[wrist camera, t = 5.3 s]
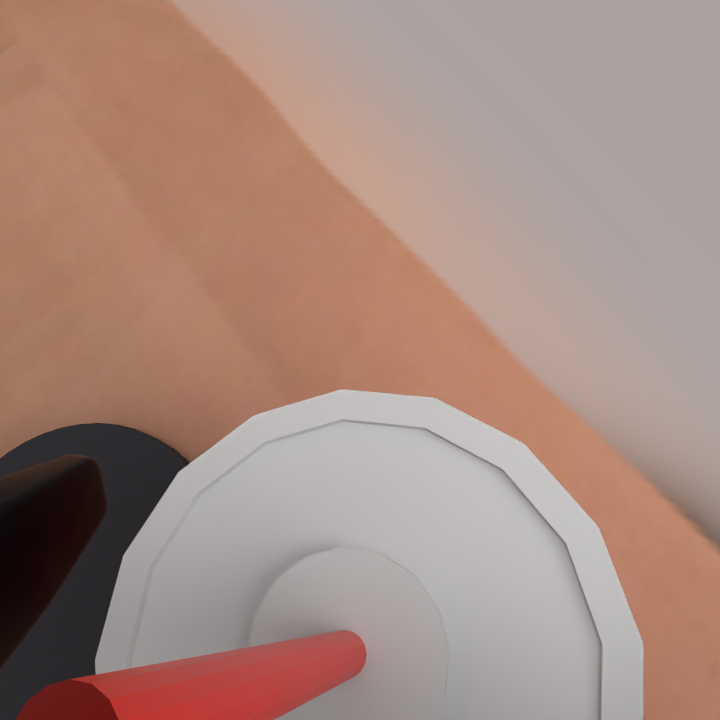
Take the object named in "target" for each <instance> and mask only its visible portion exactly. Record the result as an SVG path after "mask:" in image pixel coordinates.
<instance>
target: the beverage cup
mask: <svg viewBox="0 0 720 720" xmlns="http://www.w3.org/2000/svg"><path fill="white" fill-rule="evenodd" d="M95 671H96V675H91V676H85V677H79V678H74V679H69V680H65V681H61V682H58V683H54V684H50V685H47V686H46V687H45V688H43V689H42V690H41V691H40V692H38V693H37V694H36V695H34V696H33V697H32V698H30V699H29V700H28V701H27V702H26V704H25V705H24V707H23V708H22V710H21V711H20V713H19V714H18V716H17V717H16V719H15V720H643V642H642V639H641V636H640V634H639V631H638V629H637V626H636V623H635V621H634V618H633V615H632V613H631V610H630V608H629V605H628V602H627V600H626V597H625V595H624V592H623V589H622V587H621V584H620V582H619V579H618V576H617V574H616V571H615V568H614V566H613V563H612V561H611V558H610V555H609V553H608V550H607V548H606V545H605V542H604V540H603V537H602V535H601V532H600V529H599V527H598V526H597V525H596V524H595V522H594V521H593V520H592V519H591V518H590V517H589V516H588V515H587V513H586V512H585V511H584V510H583V509H582V508H581V507H580V506H579V504H578V503H577V502H576V501H575V500H574V499H573V498H572V497H571V496H570V494H569V493H568V492H567V491H566V490H565V489H564V488H563V487H562V485H561V484H560V483H559V482H558V481H557V480H556V479H555V478H554V476H553V475H552V474H551V473H550V472H549V471H548V470H547V469H546V467H545V466H544V465H543V464H542V463H541V462H540V461H539V460H538V458H537V457H536V456H535V455H534V454H533V453H532V452H531V451H530V449H529V448H528V447H527V446H526V445H525V444H524V443H522V442H520V441H518V440H516V439H514V438H512V437H510V436H509V435H507V434H505V433H503V432H501V431H499V430H497V429H495V428H493V427H491V426H489V425H487V424H485V423H483V422H481V421H479V420H477V419H475V418H473V417H471V416H469V415H467V414H465V413H463V412H461V411H460V410H458V409H456V408H454V407H452V406H450V405H448V404H446V403H444V402H442V401H440V400H438V399H436V398H431V397H421V396H410V395H399V394H388V393H377V392H366V391H355V390H344V389H341V390H337V391H334V392H331V393H327V394H324V395H320V396H317V397H314V398H310V399H307V400H303V401H300V402H297V403H293V404H290V405H287V406H283V407H280V408H276V409H273V410H270V411H266V412H263V413H259V414H256V415H253V416H252V417H251V418H249V419H248V420H247V421H245V422H244V423H243V424H241V425H240V426H239V427H238V428H236V429H235V430H234V431H232V432H231V433H230V434H228V435H227V436H226V437H224V438H223V439H222V440H220V441H219V442H218V443H216V444H215V445H214V446H212V447H211V448H210V449H208V450H207V451H206V452H204V453H203V454H202V455H200V456H199V457H198V458H196V459H195V460H194V461H193V462H191V463H190V464H189V465H187V466H186V467H185V468H183V469H182V470H181V471H179V472H178V474H177V475H176V477H175V478H174V480H173V481H172V483H171V484H170V486H169V487H168V489H167V490H166V492H165V493H164V495H163V496H162V498H161V499H160V501H159V503H158V504H157V506H156V507H155V509H154V510H153V512H152V513H151V515H150V516H149V518H148V519H147V521H146V522H145V524H144V525H143V527H142V528H141V530H140V531H139V533H138V534H137V536H136V537H135V539H134V540H133V542H132V543H131V545H130V546H129V548H128V549H127V551H126V552H125V554H124V555H123V559H122V562H121V566H120V570H119V573H118V577H117V581H116V584H115V588H114V592H113V596H112V599H111V603H110V607H109V610H108V614H107V618H106V621H105V625H104V629H103V632H102V636H101V640H100V644H99V647H98V651H97V655H96V658H95Z"/></svg>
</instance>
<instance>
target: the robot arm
mask: <svg viewBox="0 0 720 720" xmlns="http://www.w3.org/2000/svg"><path fill="white" fill-rule="evenodd" d="M106 511H107V497H106V492H105V487H104V483H103V478H102V473H101V468H100V465H99V463H98V462H97V460H96V459H94V458H92V457H87V456H81V455H76V454H68V455H65V456H62V457H59V458H56V459H53V460H50V461H47V462H44V463H41V464H38V465H35V466H33V467H30V468H27V469H24V470H21V471H18V472H15V473H12V474H9V475H6V476H3V477H0V670H1V669H2V667H3V666H4V665H5V663H6V662H7V661H8V659H9V658H10V657H11V656H12V654H13V653H14V652H15V650H16V649H17V648H18V646H19V645H20V644H21V642H22V641H23V640H24V638H25V637H26V636H27V634H28V633H29V632H30V631H31V629H32V628H33V627H34V625H35V624H36V623H37V621H38V620H39V619H40V617H41V616H42V614H43V613H44V612H45V610H46V609H47V608H48V606H49V605H50V603H51V602H52V600H53V599H54V597H55V596H56V594H57V593H58V591H59V589H60V588H61V586H62V585H63V583H64V581H65V580H66V578H67V577H68V575H69V573H70V572H71V570H72V569H73V567H74V565H75V564H76V562H77V561H78V559H79V558H80V556H81V554H82V553H83V551H84V550H85V548H86V546H87V545H88V543H89V542H90V540H91V538H92V537H93V535H94V534H95V532H96V530H97V529H98V527H99V526H100V524H101V522H102V521H103V519H104V517H105V514H106Z"/></svg>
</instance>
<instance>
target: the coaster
mask: <svg viewBox="0 0 720 720" xmlns="http://www.w3.org/2000/svg"><path fill="white" fill-rule="evenodd" d="M68 454H76V455H81V456H87V457H92V458H94V459H96V460H97V462H98V463H99V465H100V468H101V473H102V478H103V483H104V487H105V492H106V497H107V511H106V514H105V517H104V519H103V521H102V522H101V524H100V526H99V527H98V529H97V530H96V532H95V534H94V535H93V537H92V538H91V540H90V542H89V543H88V545H87V546H86V548H85V550H84V551H83V553H82V554H81V556H80V558H79V559H78V561H77V562H76V564H75V565H74V567H73V569H72V570H71V572H70V573H69V575H68V577H67V578H66V580H65V581H64V583H63V585H62V586H61V588H60V589H59V591H58V593H57V594H56V596H55V597H54V599H53V600H52V602H51V603H50V605H49V606H48V608H47V609H46V610H45V612H44V613H43V614H42V616H41V617H40V619H39V620H38V621H37V623H36V624H35V625H34V627H33V628H32V629H31V631H30V632H29V633H28V634H27V636H26V637H25V638H24V640H23V641H22V642H21V644H20V645H19V646H18V648H17V649H16V650H15V652H14V653H13V654H12V656H11V657H10V658H9V659H8V661H7V662H6V663H5V665H4V666H3V667H2V669H1V670H0V720H15V719H16V717H17V716H18V714H19V713H20V711H21V710H22V708H23V707H24V705H25V704H26V702H27V701H28V700H29V699H30V698H32V697H33V696H34V695H36V694H37V693H38V692H40V691H41V690H42V689H43V688H45V687H46V686H47V685H50V684H54V683H58V682H61V681H65V680H69V679H74V678H79V677H85V676H91V675H96V671H95V658H96V655H97V651H98V647H99V644H100V640H101V636H102V632H103V629H104V625H105V621H106V618H107V614H108V610H109V607H110V603H111V599H112V596H113V592H114V588H115V584H116V581H117V577H118V573H119V570H120V566H121V562H122V559H123V555H124V554H125V552H126V551H127V549H128V548H129V546H130V545H131V543H132V542H133V540H134V539H135V537H136V536H137V534H138V533H139V531H140V530H141V528H142V527H143V525H144V524H145V522H146V521H147V519H148V518H149V516H150V515H151V513H152V512H153V510H154V509H155V507H156V506H157V504H158V503H159V501H160V499H161V498H162V496H163V495H164V493H165V492H166V490H167V489H168V487H169V486H170V484H171V483H172V481H173V480H174V478H175V477H176V475H177V474H178V472H179V471H181V470H182V469H183V468H185V467H186V466H187V465H189V464H190V463H189V462H188V461H187V460H186V459H185V458H184V457H182V456H181V455H180V454H179V453H178V452H177V451H175V450H174V449H173V448H171V447H170V446H168V445H166V444H165V443H163V442H161V441H160V440H158V439H156V438H154V437H152V436H150V435H147V434H145V433H143V432H140V431H138V430H135V429H132V428H128V427H124V426H120V425H113V424H103V423H93V424H79V425H74V426H68V427H63V428H60V429H56V430H53V431H50V432H47V433H44V434H42V435H40V436H37V437H35V438H33V439H31V440H29V441H26V442H25V443H23V444H21V445H20V446H18V447H16V448H15V449H13V450H11V451H10V452H8V453H7V454H6V455H4V456H3V457H2V458H0V477H3V476H6V475H9V474H12V473H15V472H18V471H21V470H24V469H27V468H30V467H33V466H35V465H38V464H41V463H44V462H47V461H50V460H53V459H56V458H59V457H62V456H65V455H68Z"/></svg>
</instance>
